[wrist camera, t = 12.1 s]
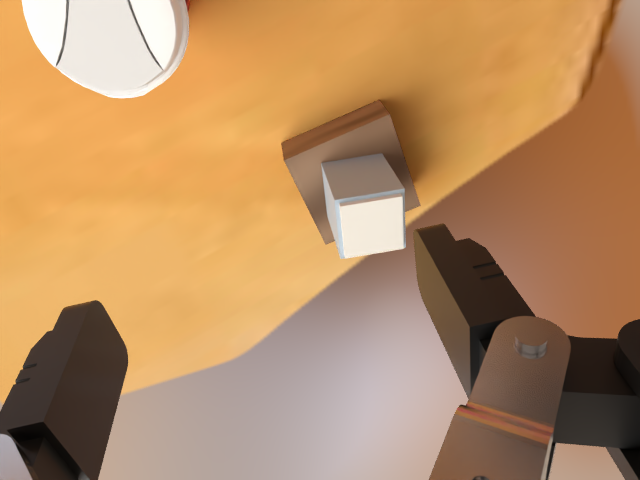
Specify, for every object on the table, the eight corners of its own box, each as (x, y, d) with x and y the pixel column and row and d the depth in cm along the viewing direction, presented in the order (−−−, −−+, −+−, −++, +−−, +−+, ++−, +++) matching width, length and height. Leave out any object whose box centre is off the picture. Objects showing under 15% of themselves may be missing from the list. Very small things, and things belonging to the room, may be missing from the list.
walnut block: (280, 141, 43) (283, 160, 39) (378, 98, 42) (389, 114, 38) (320, 221, 48) (325, 244, 44) (408, 184, 47) (420, 205, 43)
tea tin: (321, 162, 40) (335, 203, 34) (381, 153, 40) (406, 191, 34) (327, 216, 42) (341, 262, 37) (384, 206, 43) (407, 251, 37)
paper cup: (81, -82, 32) (-12, -82, 21) (202, -74, 33) (178, -70, 22) (102, 44, 36) (35, 104, 25) (209, 48, 37) (192, 107, 26)
